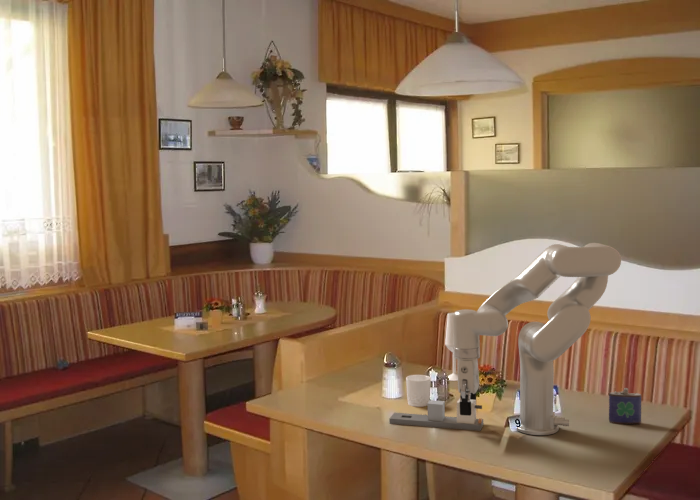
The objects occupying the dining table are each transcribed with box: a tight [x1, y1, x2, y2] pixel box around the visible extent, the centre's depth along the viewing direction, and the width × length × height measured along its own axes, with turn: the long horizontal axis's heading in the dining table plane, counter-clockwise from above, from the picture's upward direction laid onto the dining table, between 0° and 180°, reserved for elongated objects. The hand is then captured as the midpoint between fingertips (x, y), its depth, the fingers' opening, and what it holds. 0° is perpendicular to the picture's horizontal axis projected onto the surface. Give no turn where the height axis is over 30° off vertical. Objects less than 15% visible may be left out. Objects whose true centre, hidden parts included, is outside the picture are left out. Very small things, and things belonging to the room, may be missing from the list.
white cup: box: [405, 374, 432, 408], centre depth 254 cm, size 8×8×10 cm
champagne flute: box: [444, 312, 458, 382], centre depth 289 cm, size 7×7×24 cm
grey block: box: [427, 399, 446, 421], centre depth 234 cm, size 4×4×6 cm
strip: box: [389, 412, 484, 432], centre depth 234 cm, size 27×6×4 cm, turn 73°
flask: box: [608, 387, 642, 425], centre depth 236 cm, size 9×3×11 cm, turn 78°
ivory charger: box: [456, 398, 483, 424], centre depth 231 cm, size 7×4×8 cm, turn 72°
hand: (468, 409), depth 231 cm, fingers open, 9 cm apart
